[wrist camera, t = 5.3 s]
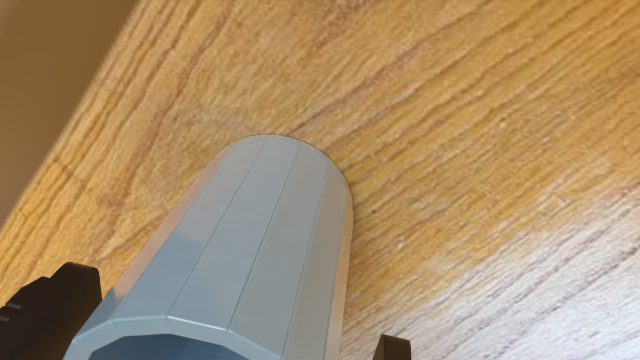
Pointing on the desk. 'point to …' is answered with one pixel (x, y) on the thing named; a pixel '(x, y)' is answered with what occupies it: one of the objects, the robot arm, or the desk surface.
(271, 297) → the cup
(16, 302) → the robot arm
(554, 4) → the desk surface
